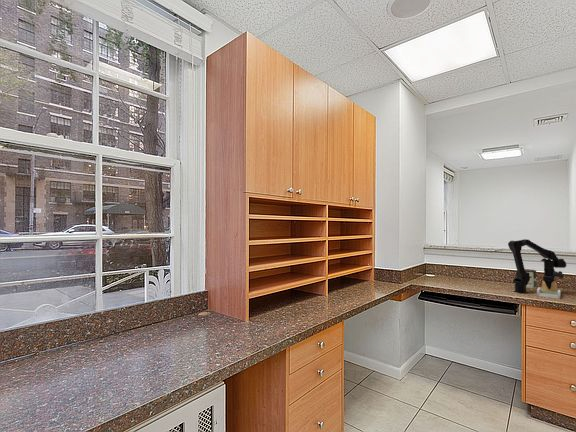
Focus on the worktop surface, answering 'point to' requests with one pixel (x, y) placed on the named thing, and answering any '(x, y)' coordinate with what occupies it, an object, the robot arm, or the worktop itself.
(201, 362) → the worktop surface
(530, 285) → the coffee can
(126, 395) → the worktop surface
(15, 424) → the worktop surface
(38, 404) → the worktop surface
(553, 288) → the orange stepped block
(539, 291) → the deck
